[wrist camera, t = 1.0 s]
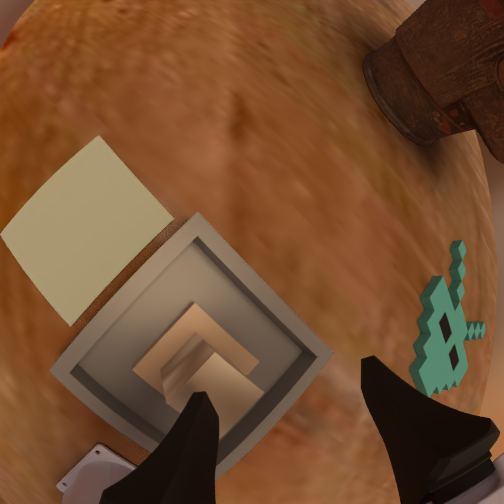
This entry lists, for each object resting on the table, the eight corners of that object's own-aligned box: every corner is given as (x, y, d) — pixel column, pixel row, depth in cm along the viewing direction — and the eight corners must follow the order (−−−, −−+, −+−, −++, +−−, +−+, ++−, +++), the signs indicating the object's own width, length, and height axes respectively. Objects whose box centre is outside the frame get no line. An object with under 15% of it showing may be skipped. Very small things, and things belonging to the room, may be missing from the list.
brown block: (200, 400, 19) (219, 439, 14) (160, 369, 19) (166, 403, 13) (234, 364, 21) (264, 392, 15) (196, 331, 20) (215, 352, 14)
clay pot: (375, 190, 30) (615, 112, 2) (325, 20, 32) (444, -87, 4) (465, 202, 39) (601, 170, 11) (422, 68, 41) (523, 12, 13)
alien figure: (451, 241, 37) (390, 333, 30) (462, 239, 35) (403, 335, 28) (476, 329, 39) (426, 416, 33) (485, 330, 37) (436, 419, 31)
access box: (203, 465, 21) (211, 485, 18) (60, 359, 18) (48, 370, 15) (314, 346, 26) (334, 353, 23) (191, 220, 22) (197, 211, 19)
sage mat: (71, 325, 18) (70, 326, 18) (2, 235, 16) (0, 234, 16) (173, 219, 22) (174, 218, 22) (99, 137, 20) (98, 135, 20)
